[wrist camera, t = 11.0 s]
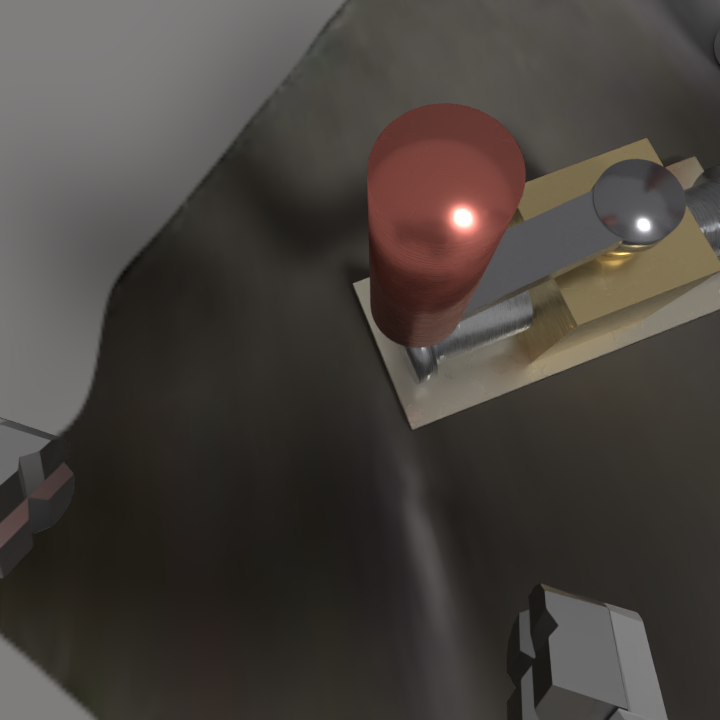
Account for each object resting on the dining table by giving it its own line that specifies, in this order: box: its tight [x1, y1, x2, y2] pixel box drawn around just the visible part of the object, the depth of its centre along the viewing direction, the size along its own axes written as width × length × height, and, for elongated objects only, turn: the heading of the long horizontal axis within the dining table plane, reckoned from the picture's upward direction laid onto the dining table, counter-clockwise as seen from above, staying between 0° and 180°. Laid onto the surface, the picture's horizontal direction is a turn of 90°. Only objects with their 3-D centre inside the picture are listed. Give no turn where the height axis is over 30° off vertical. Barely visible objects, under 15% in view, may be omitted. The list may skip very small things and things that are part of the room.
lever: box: [367, 104, 686, 348], centre depth 18 cm, size 14×4×10 cm, turn 115°
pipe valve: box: [353, 138, 720, 431], centre depth 28 cm, size 22×9×9 cm, turn 111°
